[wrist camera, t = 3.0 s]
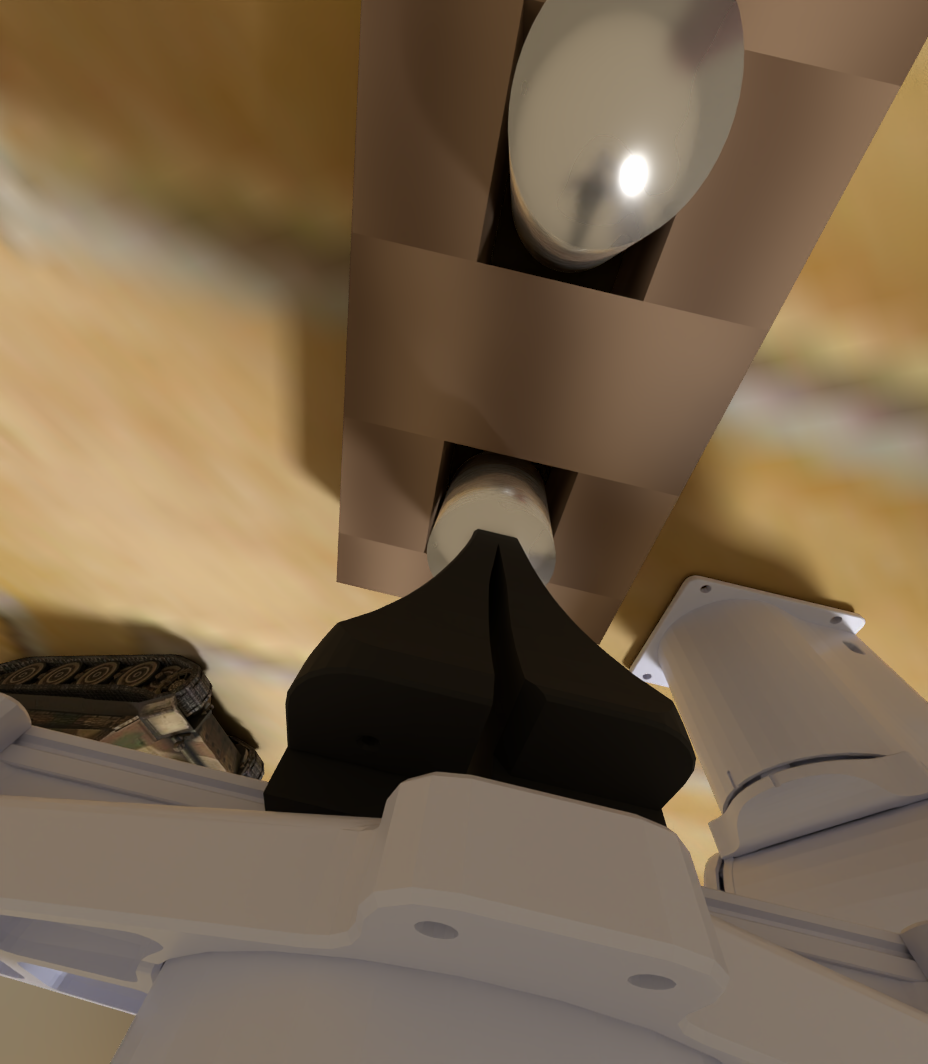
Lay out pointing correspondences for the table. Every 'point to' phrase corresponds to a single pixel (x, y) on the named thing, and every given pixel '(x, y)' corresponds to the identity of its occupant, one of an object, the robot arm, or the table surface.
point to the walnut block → (569, 310)
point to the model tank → (130, 706)
